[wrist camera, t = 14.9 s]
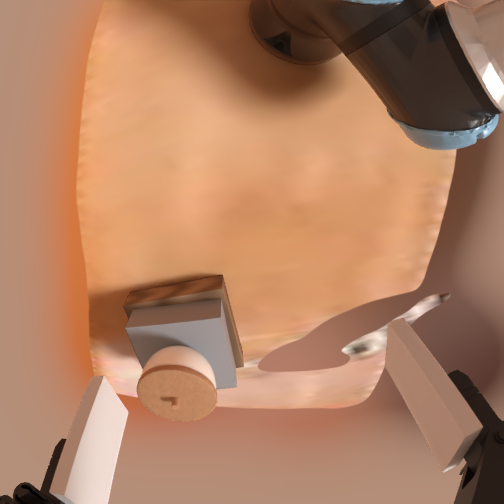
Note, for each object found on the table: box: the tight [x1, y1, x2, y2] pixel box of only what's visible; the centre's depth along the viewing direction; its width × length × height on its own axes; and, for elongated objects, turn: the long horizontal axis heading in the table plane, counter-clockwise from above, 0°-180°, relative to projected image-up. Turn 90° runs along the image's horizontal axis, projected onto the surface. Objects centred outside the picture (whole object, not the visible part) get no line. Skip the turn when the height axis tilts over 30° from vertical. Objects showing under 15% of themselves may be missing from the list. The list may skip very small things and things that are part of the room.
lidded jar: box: [137, 345, 217, 421], centre depth 40 cm, size 11×11×9 cm
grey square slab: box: [125, 299, 237, 389], centre depth 46 cm, size 14×14×5 cm
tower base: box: [123, 275, 244, 368], centre depth 51 cm, size 16×16×5 cm
